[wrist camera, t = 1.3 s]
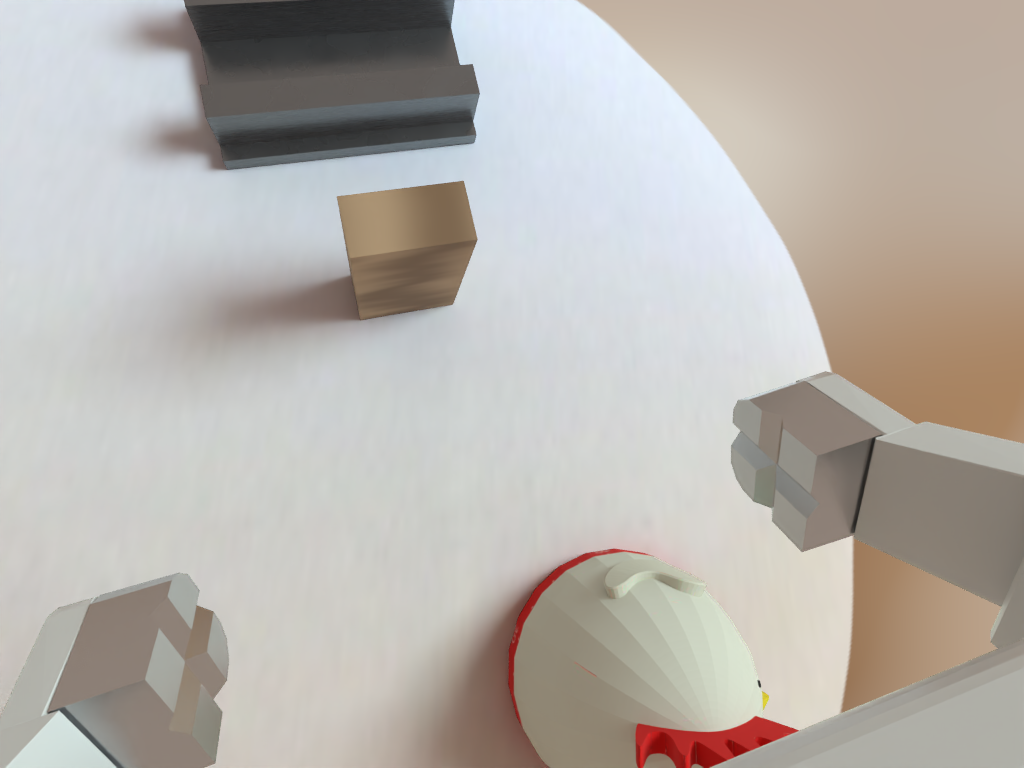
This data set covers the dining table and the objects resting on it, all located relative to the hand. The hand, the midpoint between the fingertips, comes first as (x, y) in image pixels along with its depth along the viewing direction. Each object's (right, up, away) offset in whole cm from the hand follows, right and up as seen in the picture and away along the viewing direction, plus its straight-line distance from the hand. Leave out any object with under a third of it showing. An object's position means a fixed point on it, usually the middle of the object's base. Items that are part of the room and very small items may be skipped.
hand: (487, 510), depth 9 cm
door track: (-11, +22, +31) cm, 40 cm away
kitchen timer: (+7, -16, +29) cm, 34 cm away
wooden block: (-7, +8, +30) cm, 32 cm away
